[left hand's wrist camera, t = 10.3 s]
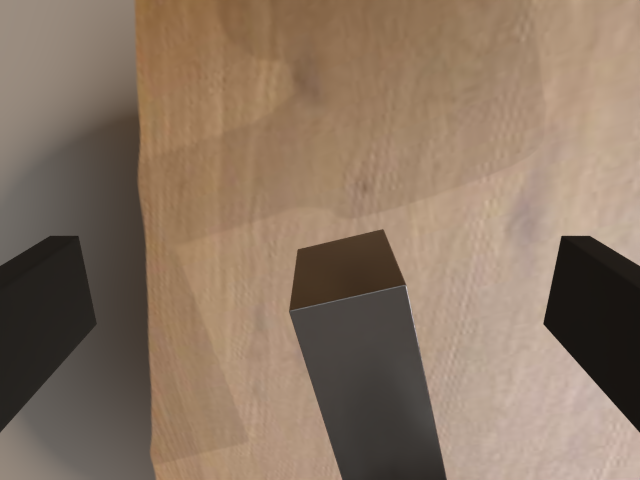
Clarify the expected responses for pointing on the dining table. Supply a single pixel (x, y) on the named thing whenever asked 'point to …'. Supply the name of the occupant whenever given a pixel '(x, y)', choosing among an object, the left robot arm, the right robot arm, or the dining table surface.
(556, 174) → the dining table surface
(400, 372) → the bar
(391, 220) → the dining table surface
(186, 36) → the dining table surface
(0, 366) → the left robot arm
